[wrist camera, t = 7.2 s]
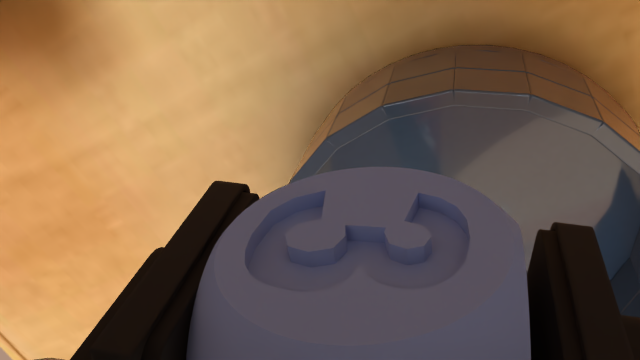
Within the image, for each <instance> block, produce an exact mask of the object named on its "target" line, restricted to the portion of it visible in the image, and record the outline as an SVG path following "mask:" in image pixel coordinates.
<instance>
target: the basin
mask: <svg viewBox="0 0 640 360" xmlns="http://www.w3.org/2000/svg"><path fill="white" fill-rule="evenodd" d="M361 167H399V168H409V169H417V170H422V171H427V172H432V173H436V174H440V175H443V176H446V177H449V178H452V179H455V180H457V181H460V182H462V183H464V184H466V185H468V186H470V187H472V188H474V189H476V190H477V191H479V192H481V193H482V194H484V195H485V196H486V197H488V198H489V199H490V200H492V201H493V202H494V203H495V204H497V205H498V206H499V207H501V208H502V209H503V210H504V211H505V212H506V213H507V214H509V215H510V216H511V217H512V218H513V219H514V220H515V221H516V222H517V223H518V224H519V226H520V230H521V234H522V240H523V246H524V254H525V264H526V274H527V272H528V268H529V264H530V259H531V255H532V251H533V247H534V243H535V239H536V235H537V232H538V230H539V229H543V230H550V228H551V226H552V224H553V223H554V222H560V223H568V224H576V225H584V226H591V227H593V229H594V231H595V235H596V238H597V241H598V244H599V247H600V251H601V254H602V257H603V260H604V263H605V266H606V270H607V273H608V276H609V279H610V282H611V286H612V289H613V292H614V295H615V298H616V302H617V305H618V308H619V311H620V314H621V315H625V316H632V317H639V318H640V132H639V131H638V129H637V127H636V125H635V124H634V122H633V120H632V118H631V117H630V116H629V114H628V113H627V112H626V111H624V109H623V108H622V107H621V106H620V105H619V104H618V103H617V102H616V101H615V100H614V99H613V98H612V97H611V96H610V95H609V93H608V92H607V91H605V90H604V89H603V88H601V87H600V86H599V85H598V84H596V83H595V82H594V81H592V80H591V79H590V78H588V77H587V76H585V75H584V74H582V73H580V72H578V71H576V70H575V69H573V68H571V67H569V66H567V65H566V64H564V63H561V62H559V61H556V60H553V59H551V58H548V57H546V56H543V55H541V54H537V53H533V52H529V51H525V50H521V49H516V48H510V47H501V46H493V45H460V46H453V47H446V48H438V49H434V50H430V51H426V52H422V53H419V54H415V55H411V56H409V57H407V58H404V59H402V60H399V61H397V62H394V63H392V64H389V65H388V66H386V67H384V68H382V69H381V70H379V71H377V72H375V73H374V74H372V75H370V76H369V77H367V78H366V79H365V80H363V81H362V82H361V83H359V84H358V85H357V86H355V87H354V88H353V89H351V90H350V91H349V92H348V93H347V94H346V95H345V96H344V98H343V99H342V100H341V101H340V102H339V103H338V104H337V105H336V106H335V107H334V109H333V110H332V111H331V113H330V114H329V115H328V117H327V118H326V119H325V121H324V122H323V124H322V126H321V127H320V128H319V129H318V130H317V132H316V133H315V135H314V136H313V138H312V140H311V142H310V144H309V146H308V148H307V150H306V152H305V154H304V155H303V157H302V159H301V161H300V163H299V165H298V167H297V169H296V171H295V173H294V175H293V176H292V178H291V180H290V182H289V184H290V183H293V182H296V181H298V180H301V179H304V178H307V177H311V176H314V175H318V174H322V173H327V172H332V171H337V170H343V169H351V168H361Z"/></svg>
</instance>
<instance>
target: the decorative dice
mask: <svg viewBox="0 0 640 360" xmlns="http://www.w3.org/2000/svg"><path fill="white" fill-rule="evenodd" d="M186 360H531V344H530V321H529V302H528V287H527V274H526V264H525V254H524V246H523V240H522V234H521V230H520V226H519V224H518V223H517V222H516V221H515V220H514V219H513V218H512V217H511V216H510V215H509V214H507V213H506V212H505V211H504V210H503V209H502V208H501V207H499V206H498V205H497V204H495V203H494V202H493V201H492V200H490V199H489V198H488V197H486V196H485V195H484V194H482V193H481V192H479V191H477V190H476V189H474V188H472V187H470V186H468V185H466V184H464V183H462V182H460V181H457V180H455V179H452V178H449V177H446V176H443V175H440V174H436V173H432V172H427V171H422V170H417V169H409V168H399V167H361V168H351V169H343V170H337V171H332V172H327V173H322V174H318V175H314V176H311V177H307V178H304V179H301V180H298V181H296V182H293V183H290V184H288V185H285V186H283V187H281V188H279V189H277V190H275V191H273V192H271V193H269V194H267V195H265V196H264V197H262V198H260V199H259V200H257V201H256V202H254V203H253V204H252V205H251V206H249V207H248V208H247V209H245V210H244V211H243V212H242V213H241V214H240V215H239V216H238V217H237V218H236V219H235V220H234V221H233V222H232V223H231V224H230V225H229V226H228V227H227V229H226V230H225V231H224V232H223V233H222V235H221V236H220V238H219V239H218V241H217V243H216V244H215V246H214V248H213V250H212V252H211V254H210V256H209V259H208V261H207V263H206V266H205V268H204V271H203V274H202V277H201V280H200V283H199V287H198V291H197V294H196V298H195V302H194V307H193V312H192V317H191V322H190V329H189V336H188V344H187V354H186Z"/></svg>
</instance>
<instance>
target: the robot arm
mask: <svg viewBox="0 0 640 360" xmlns="http://www.w3.org/2000/svg"><path fill="white" fill-rule="evenodd" d="M257 200H259V196H258V195H257V194H254V193H250V189H249V187H248V185H247V184H240V183H232V182H223V181H214V182H213V183H212V184H211V186H210V187H209V188H208V190H207V191H206V193H205V194H204V195H203V197H202V198H201V199H200V201H199V202H198V203H197V205H196V206H195V207H194V209H193V210H192V211H191V213H190V214H189V215H188V217H187V218H186V219H185V221H184V222H183V223H182V225H181V226H180V227H179V229H178V230H177V231H176V233H175V234H174V235H173V237H172V238H171V239H170V241H169V242H168V244H167V245H166V246H165V248H164V247H161V248H158V249H156V250H155V251H154V252H153V253H152V254H151V255H150V256H149V257H148V259H147V260H146V261H145V262H144V264H143V265H142V266H141V268H140V269H139V270H138V272H137V273H136V274H135V276H134V277H133V278H132V279H131V281H130V282H129V283H128V285H127V286H126V287H125V289H124V290H123V291H122V292H121V294H120V295H119V296H118V298H117V299H116V300H115V302H114V303H113V304H112V306H111V307H110V308H109V309H108V311H107V312H106V313H105V315H104V316H103V317H102V319H101V320H100V321H99V323H98V324H97V325H96V326H95V328H94V329H93V330H92V332H91V333H90V334H89V336H88V337H87V338H86V339H85V341H84V342H83V343H82V345H81V346H80V347H79V349H78V350H77V351H76V353H75V354H74V355H73V356H72V358H71V359H70V360H186V354H187V344H188V336H189V329H190V322H191V317H192V312H193V307H194V302H195V298H196V294H197V291H198V287H199V283H200V280H201V277H202V274H203V271H204V268H205V266H206V263H207V261H208V259H209V256H210V254H211V252H212V250H213V248H214V246H215V244H216V243H217V241H218V239H219V238H220V236H221V235H222V233H223V232H224V231H225V230H226V229H227V227H228V226H229V225H230V224H231V223H232V222H233V221H234V220H235V219H236V218H237V217H238V216H239V215H240V214H241V213H242V212H243V211H244V210H245V209H247V208H248V207H249V206H251V205H252V204H253V203H254V202H256V201H257ZM527 287H528V302H529V321H530V344H531V360H640V318H639V317H632V316H625V315H621V314H620V311H619V308H618V305H617V302H616V298H615V295H614V292H613V289H612V286H611V282H610V279H609V276H608V273H607V270H606V266H605V263H604V260H603V257H602V254H601V251H600V247H599V244H598V241H597V238H596V235H595V231H594V229H593V227H591V226H584V225H576V224H568V223H560V222H554V223H553V224H552V226H551V228H550V230H543V229H539V230H538V232H537V235H536V239H535V243H534V247H533V251H532V255H531V259H530V264H529V268H528V272H527ZM36 360H64V359H55V358H44V359H36Z"/></svg>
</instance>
